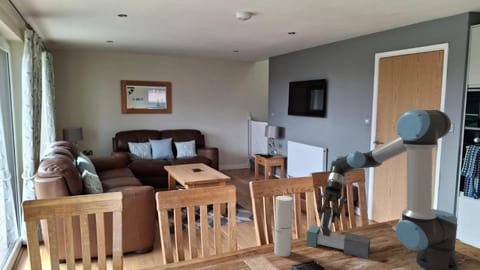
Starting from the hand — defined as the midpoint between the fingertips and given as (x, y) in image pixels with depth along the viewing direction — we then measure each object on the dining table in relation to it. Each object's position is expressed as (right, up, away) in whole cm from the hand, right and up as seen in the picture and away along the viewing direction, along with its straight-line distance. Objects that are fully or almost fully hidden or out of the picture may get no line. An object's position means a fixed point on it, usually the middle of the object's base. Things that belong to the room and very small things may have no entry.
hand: (325, 227), depth 146 cm
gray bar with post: (+4, -9, +3) cm, 10 cm away
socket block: (-4, -9, +7) cm, 12 cm away
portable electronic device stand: (+47, -9, +21) cm, 52 cm away
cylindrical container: (-20, -10, -3) cm, 23 cm away
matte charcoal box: (+14, -11, -2) cm, 17 cm away
